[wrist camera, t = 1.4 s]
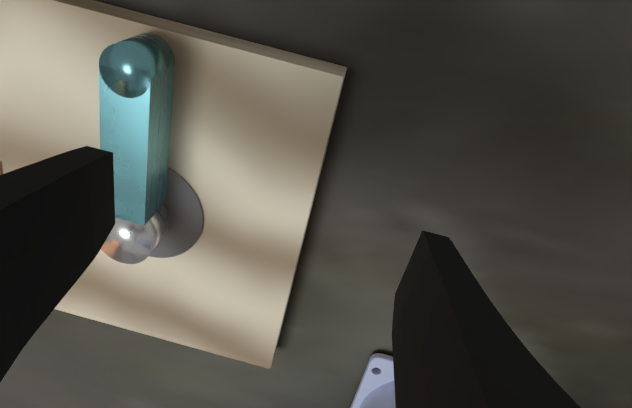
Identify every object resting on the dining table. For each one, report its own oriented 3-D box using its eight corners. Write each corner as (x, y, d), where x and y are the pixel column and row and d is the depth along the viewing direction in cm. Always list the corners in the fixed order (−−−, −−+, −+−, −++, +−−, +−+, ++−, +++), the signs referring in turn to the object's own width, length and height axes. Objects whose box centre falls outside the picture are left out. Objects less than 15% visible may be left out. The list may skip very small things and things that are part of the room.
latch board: (276, 348, 27) (269, 372, 25) (-30, 263, 27) (-55, 281, 26) (347, 66, 19) (342, 78, 17) (-90, -49, 19) (-130, -47, 18)
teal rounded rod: (169, 243, 22) (149, 270, 20) (118, 229, 22) (94, 255, 20) (184, 41, 17) (160, 53, 15) (120, 24, 17) (89, 34, 16)
